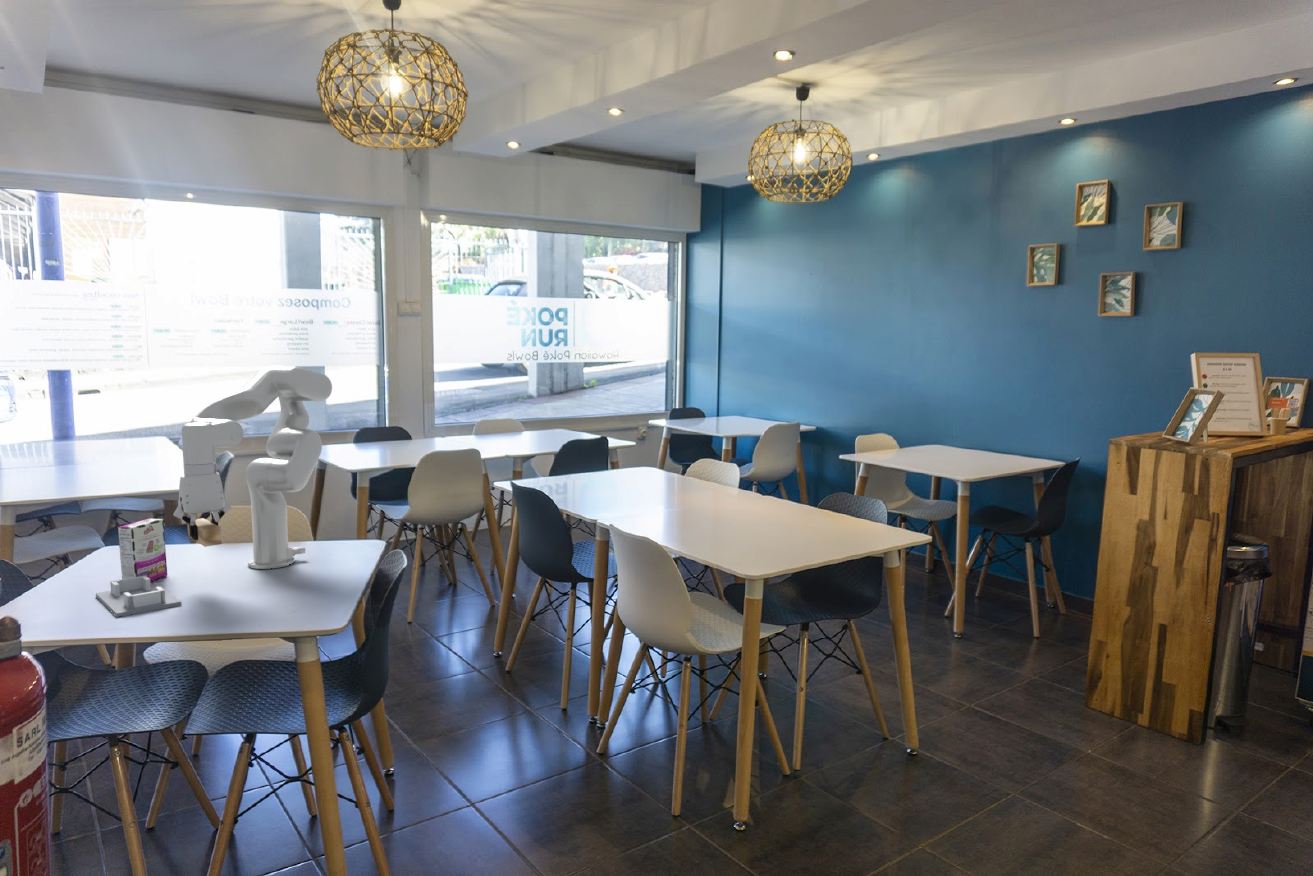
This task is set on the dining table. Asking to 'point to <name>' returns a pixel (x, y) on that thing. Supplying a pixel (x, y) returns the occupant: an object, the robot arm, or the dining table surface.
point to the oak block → (207, 533)
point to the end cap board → (136, 596)
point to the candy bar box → (143, 549)
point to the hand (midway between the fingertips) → (204, 537)
